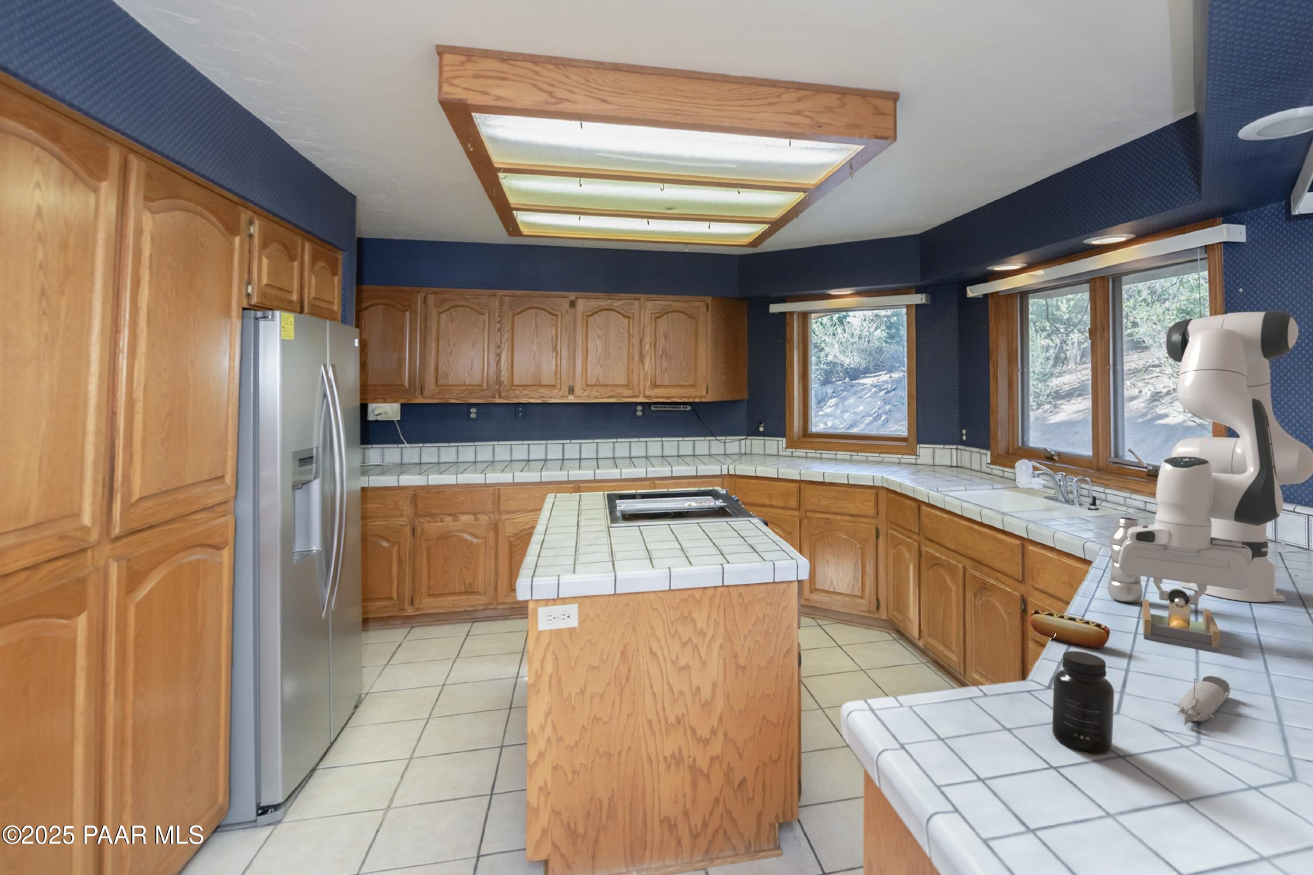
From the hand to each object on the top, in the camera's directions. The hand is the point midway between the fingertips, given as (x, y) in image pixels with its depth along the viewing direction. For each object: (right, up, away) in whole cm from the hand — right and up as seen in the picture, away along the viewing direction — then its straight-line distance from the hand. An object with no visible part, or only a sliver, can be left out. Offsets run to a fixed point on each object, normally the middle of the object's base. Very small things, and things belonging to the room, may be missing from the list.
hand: (1178, 601), depth 123 cm
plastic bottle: (+4, -5, +19) cm, 21 cm away
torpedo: (-24, -8, -32) cm, 41 cm away
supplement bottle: (-49, -8, -41) cm, 64 cm away
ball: (-4, -4, -4) cm, 7 cm away
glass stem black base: (-1, -5, -1) cm, 5 cm away
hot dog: (-26, -7, -5) cm, 28 cm away
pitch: (-1, -6, -1) cm, 6 cm away
